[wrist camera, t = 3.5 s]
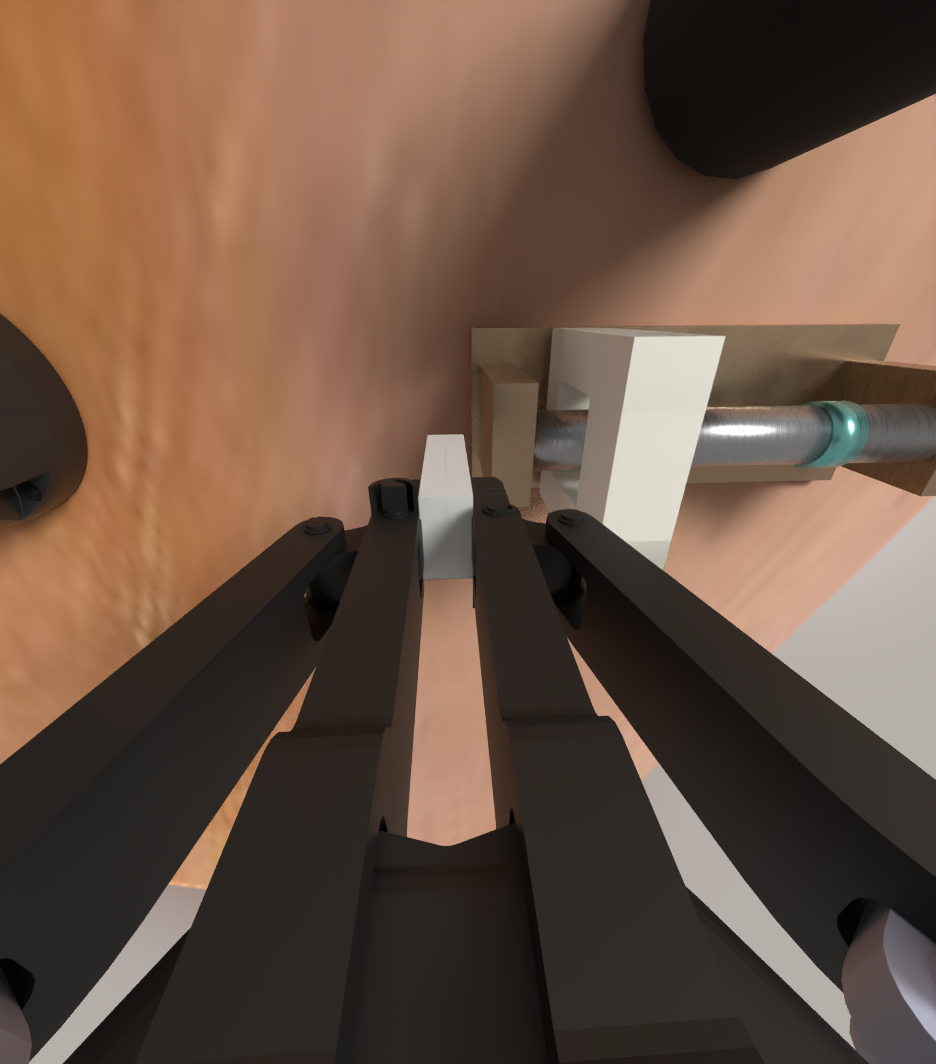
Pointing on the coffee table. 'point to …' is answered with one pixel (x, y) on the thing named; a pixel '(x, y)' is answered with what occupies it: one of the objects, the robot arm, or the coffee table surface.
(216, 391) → the coffee table surface
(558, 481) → the collar
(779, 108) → the coffee jar
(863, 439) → the rail
